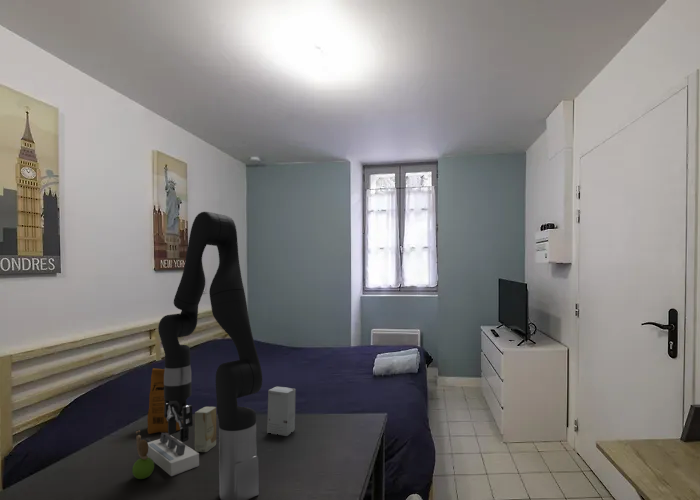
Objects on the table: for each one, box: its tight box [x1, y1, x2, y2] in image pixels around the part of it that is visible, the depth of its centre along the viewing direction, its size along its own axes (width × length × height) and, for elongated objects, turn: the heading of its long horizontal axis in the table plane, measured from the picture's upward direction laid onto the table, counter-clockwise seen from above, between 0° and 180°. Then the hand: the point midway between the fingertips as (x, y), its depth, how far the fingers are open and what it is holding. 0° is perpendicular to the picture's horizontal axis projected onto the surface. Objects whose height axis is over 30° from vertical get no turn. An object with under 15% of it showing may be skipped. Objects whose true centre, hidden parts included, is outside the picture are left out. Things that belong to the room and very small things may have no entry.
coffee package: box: [147, 367, 180, 435], centre depth 148 cm, size 10×12×22 cm
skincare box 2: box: [266, 386, 297, 437], centre depth 142 cm, size 8×6×15 cm
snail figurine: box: [131, 429, 155, 480], centre depth 112 cm, size 5×6×12 cm
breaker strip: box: [144, 435, 200, 477], centre depth 126 cm, size 31×8×4 cm, turn 46°
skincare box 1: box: [194, 406, 217, 453], centre depth 130 cm, size 6×4×12 cm
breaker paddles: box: [159, 432, 186, 454], centre depth 122 cm, size 14×2×2 cm, turn 46°
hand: (178, 437), depth 119 cm, fingers open, 8 cm apart
